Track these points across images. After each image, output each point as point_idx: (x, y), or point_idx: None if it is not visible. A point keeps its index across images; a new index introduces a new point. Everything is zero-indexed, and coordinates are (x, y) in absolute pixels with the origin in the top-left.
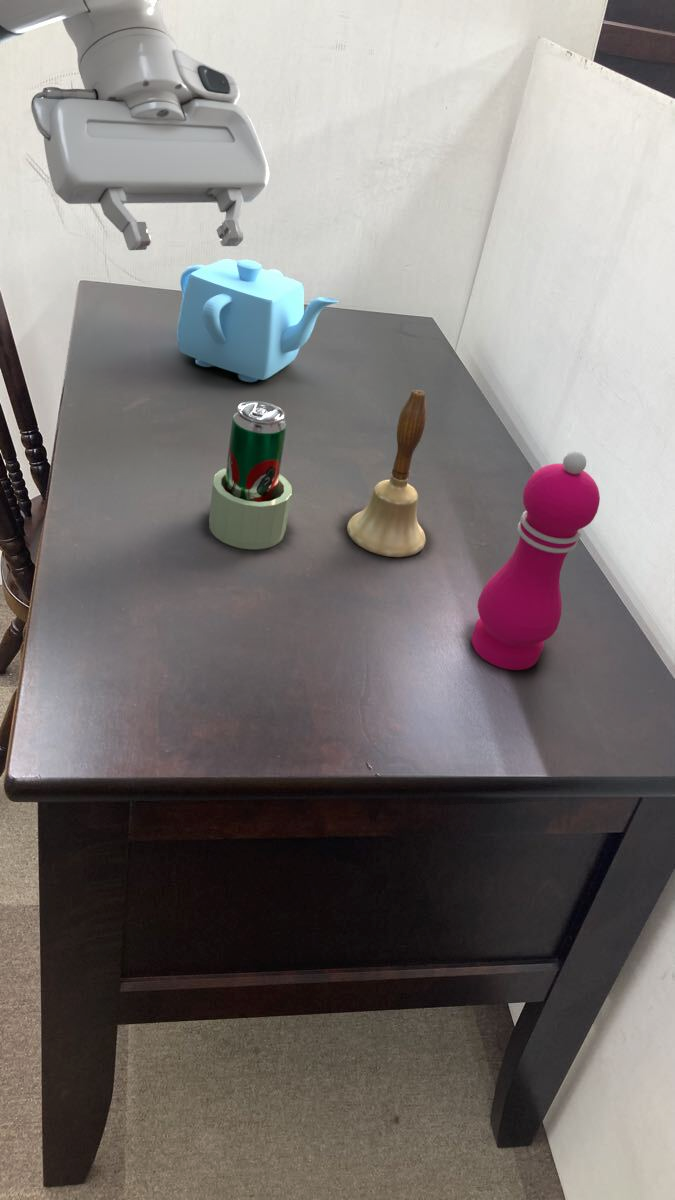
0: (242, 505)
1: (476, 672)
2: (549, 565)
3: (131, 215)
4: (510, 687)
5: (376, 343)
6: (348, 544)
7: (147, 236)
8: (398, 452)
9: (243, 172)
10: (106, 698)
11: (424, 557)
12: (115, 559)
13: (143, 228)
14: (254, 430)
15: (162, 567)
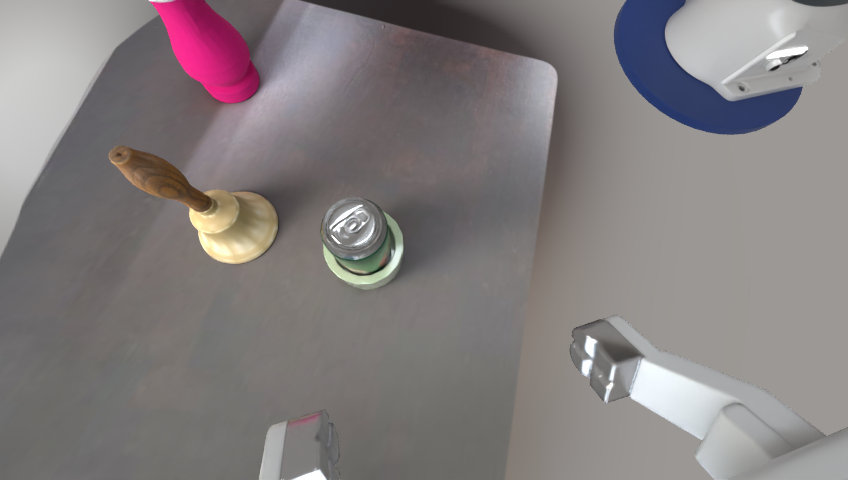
0: (386, 213)
1: (272, 68)
2: None
3: (668, 370)
4: (258, 52)
5: None
6: (285, 218)
7: (590, 331)
8: (194, 191)
9: None
10: (511, 101)
11: (224, 190)
12: (487, 227)
13: (611, 347)
14: (371, 202)
15: (454, 212)
